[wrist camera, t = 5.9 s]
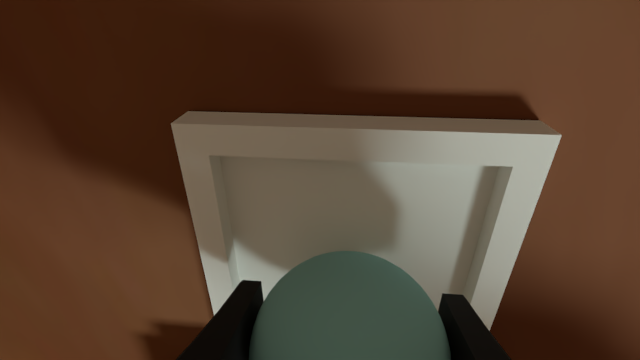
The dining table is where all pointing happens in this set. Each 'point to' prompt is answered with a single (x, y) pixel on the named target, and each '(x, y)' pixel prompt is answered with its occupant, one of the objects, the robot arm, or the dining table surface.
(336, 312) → the ball
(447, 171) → the white tray
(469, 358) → the robot arm
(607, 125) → the dining table surface
